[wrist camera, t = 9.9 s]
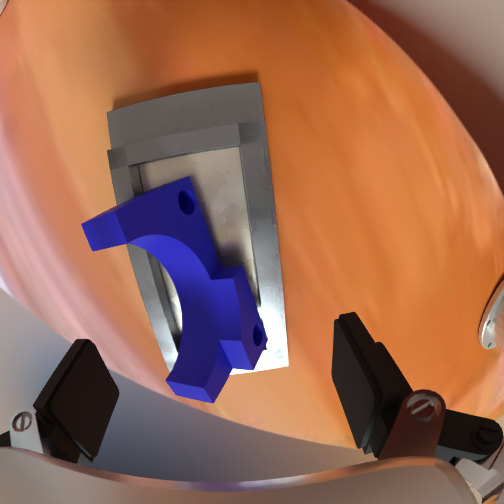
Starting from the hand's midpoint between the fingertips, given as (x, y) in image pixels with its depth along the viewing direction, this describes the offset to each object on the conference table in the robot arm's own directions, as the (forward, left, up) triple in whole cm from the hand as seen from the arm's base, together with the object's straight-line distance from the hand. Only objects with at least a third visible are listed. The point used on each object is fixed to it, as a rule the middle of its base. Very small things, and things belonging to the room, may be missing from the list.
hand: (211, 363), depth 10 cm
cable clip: (0, 0, -9) cm, 9 cm away
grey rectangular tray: (+1, 0, -11) cm, 11 cm away
